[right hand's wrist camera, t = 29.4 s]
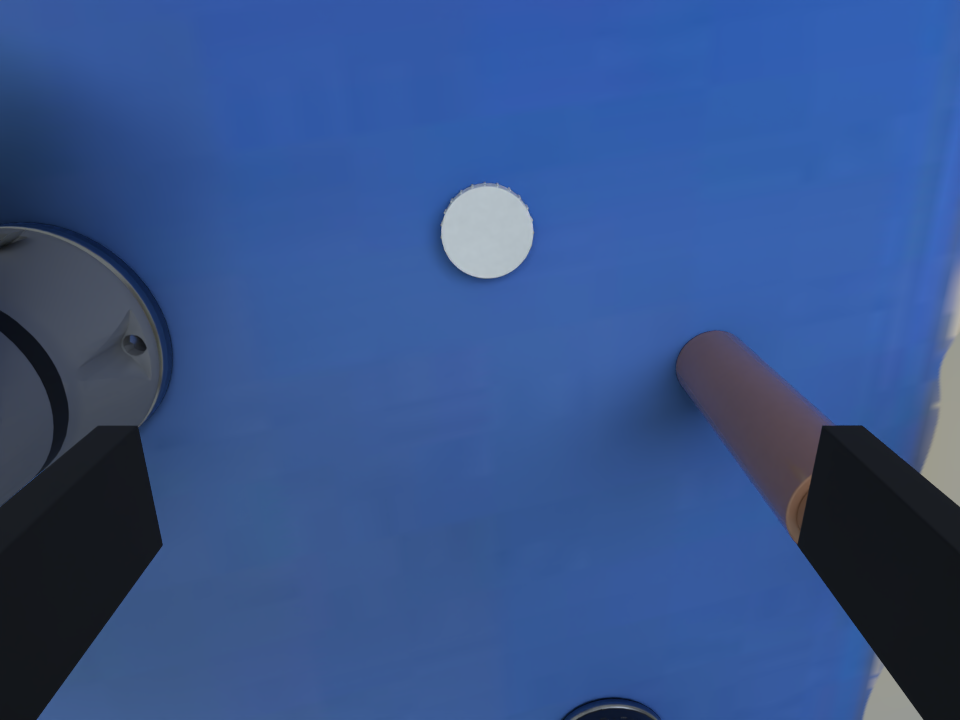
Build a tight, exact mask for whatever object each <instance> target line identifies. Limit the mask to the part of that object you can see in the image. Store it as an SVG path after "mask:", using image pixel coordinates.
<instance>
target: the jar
mask: <svg viewBox="0 0 960 720" xmlns="http://www.w3.org/2000/svg"><path fill="white" fill-rule="evenodd" d="M676 374H677V378H678V380H679V382H680V384H681V386H682V387H683V388H684V390H685V391H686V392H687V394H688V395H689V397H690V398H691V399H692V401H693V402H694V404H695V405H696V406H697V408H698V409H699V410H700V412H701V413H702V415H703V416H704V417H705V419H706V420H707V422H708V423H709V424H710V426H711V427H712V428H713V430H714V431H715V433H716V434H717V435H718V437H719V438H720V440H721V441H722V442H723V444H724V445H725V447H726V448H727V449H728V451H729V452H730V453H731V455H732V456H733V458H734V459H735V460H736V462H737V463H738V465H739V466H740V467H741V469H742V470H743V471H744V473H745V474H746V476H747V477H748V478H749V480H750V481H751V483H752V484H753V485H754V487H755V488H756V489H757V491H758V492H759V494H760V495H761V496H762V498H763V499H764V501H765V502H766V503H767V505H768V506H769V507H770V509H771V510H772V512H773V513H774V514H775V516H776V517H777V519H778V520H779V521H780V523H781V524H782V525H783V527H784V528H785V530H786V531H787V532H788V534H789V535H790V537H791V538H792V539H793V540H794V542H795V543H796V544H798V539H799V534H800V530H801V525H802V520H803V515H804V510H805V506H806V501H807V496H808V491H809V486H810V482H811V477H812V472H813V467H814V463H815V458H816V453H817V448H818V443H819V439H820V434H821V429H822V426H836V425H835V424H834V423H833V422H832V421H831V420H829V419H828V418H827V417H826V416H825V415H824V414H823V413H822V412H821V411H819V410H818V409H817V408H816V407H815V406H814V405H813V404H812V403H810V402H809V401H808V400H807V399H806V398H805V397H804V396H803V395H802V394H800V393H799V392H798V391H797V390H796V389H795V388H794V387H793V386H792V385H790V384H789V383H788V382H787V381H786V380H785V379H784V378H783V377H781V376H780V375H779V374H778V373H777V372H776V371H775V370H774V369H773V368H771V367H770V366H769V365H768V364H767V363H766V362H765V361H764V360H762V359H761V358H760V357H759V356H758V355H757V354H756V353H755V352H754V351H752V350H751V349H750V348H749V347H748V346H747V345H746V344H745V343H743V342H742V341H741V340H740V339H739V338H738V337H736V336H735V335H733V334H731V333H728V332H725V331H709V332H705V333H702V334H700V335H698V336H696V337H694V338H693V339H691V340H690V341H689V342H688V343H687V344H686V345H685V346H684V347H683V349H682V350H681V352H680V354H679V356H678V359H677V363H676Z"/></svg>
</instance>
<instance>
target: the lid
mask: <svg viewBox="0 0 960 720" xmlns="http://www.w3.org/2000/svg"><path fill="white" fill-rule="evenodd" d="M528 209H529V208H528V206H527V205H525V204H524V202H523V201H522V200H521V197H520V195H517V194H515V193H514V192H513V191H511V189H510V188H509V187H508V188H506V187H504V186H501V185H499V184H498V183H496V184H492V183H486V182H484V183H482V184H477V185H473V184H472V185H471V186H470V187H468V188H466V189H465V190H463V191H462V190H460V193H459V194H458V195H457V196H456V197H455V198H454V199H453V198H452V199H451V203H450V204H449V206H448V208H447V209H445V211H444V214H445V215H444V218H443V221H442V222H441V226H442V229H441V239H442V243H443V247H444V251H445V252H446V254H447V256H448V257H449V259H450V261H452V263H453V264H454V265H455V266H456V267H457V268H459V269H460V270H461V271H463V272H465V273H466V274H468V275H471V276H474V277H478V278H497V277H500V276H503V275H506V274H508V273H510V272H511V271H513V270H514V269H516V268H517V267H518V266H519V265H520V264H521V263H522V262H523V261H524V259H525V258H526V257H527V254H528V253H529V250H530V248H531V246H532V240H533V234H534V231H533V224H532V221H533V219H532V217H531V216H530V214H529V212H528Z"/></svg>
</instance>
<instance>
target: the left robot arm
mask: <svg viewBox="0 0 960 720" xmlns="http://www.w3.org/2000/svg"><path fill="white" fill-rule="evenodd" d="M564 720H661V719H660V718H659V716H658V715H657V714H656V713H655V712H653V711H652V710H651V709H649V708H648V707H646V706H644V705H642V704H639V703H637V702H633V701H629V700H623V699H606V700H599V701H595V702H592V703H588V704H586V705H583V706H581V707H579V708H578V709H576V710H574V711H573V712H572V713H570V714H569V715H568V716H567V717H566V718H565V719H564Z"/></svg>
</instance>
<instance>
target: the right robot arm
mask: <svg viewBox="0 0 960 720" xmlns="http://www.w3.org/2000/svg"><path fill="white" fill-rule="evenodd" d="M171 371H172V347H171V340H170V335H169V331H168V328H167V325H166V322H165V319H164V317H163V314H162V312H161V309H160V308H159V306H158V304H157V302H156V300H155V298H154V297H153V295H152V294H151V292H150V291H149V289H148V288H147V286H146V285H145V284H144V283H143V281H142V280H141V279H140V278H139V277H138V275H137V274H136V273H135V272H134V271H133V270H132V269H131V268H130V267H129V266H128V265H127V264H126V263H124V262H123V261H122V260H121V259H120V258H119V257H117V256H116V255H115V254H113V253H112V252H111V251H109V250H108V249H106V248H105V247H103V246H102V245H100V244H98V243H97V242H95V241H93V240H91V239H89V238H87V237H85V236H83V235H81V234H78V233H76V232H73V231H70V230H67V229H65V228H61V227H57V226H53V225H48V224H42V223H31V222H17V223H7V224H1V225H0V506H1V505H2V506H1V507H0V720H37V718H38V717H39V716H40V714H41V713H42V711H43V710H44V709H45V707H46V706H47V704H48V703H49V702H50V700H51V699H52V698H53V696H54V695H55V693H56V692H57V691H58V689H59V688H60V686H61V685H62V684H63V682H64V681H65V680H66V678H67V677H68V675H69V674H70V673H71V671H72V670H73V669H74V667H75V666H76V664H77V663H78V662H79V660H80V659H81V657H82V656H83V655H84V653H85V652H86V651H87V649H88V648H89V646H90V645H91V644H92V642H93V641H94V639H95V638H96V637H97V635H98V634H99V633H100V631H101V630H102V628H103V627H104V626H105V624H106V623H107V622H108V620H109V619H110V617H111V616H112V615H113V613H114V612H115V610H116V609H117V608H118V606H119V605H120V604H121V602H122V601H123V599H124V598H125V597H126V595H127V594H128V592H129V591H130V590H131V588H132V587H133V586H134V584H135V583H136V581H137V580H138V579H139V577H140V576H141V575H142V573H143V572H144V570H145V569H146V568H147V566H148V565H149V563H150V562H151V561H152V559H153V558H154V557H155V555H156V554H157V552H158V551H159V550H160V548H161V547H162V545H163V544H162V539H161V534H160V530H159V525H158V520H157V515H156V510H155V506H154V501H153V496H152V491H151V486H150V482H149V477H148V472H147V467H146V463H145V458H144V453H143V448H142V443H141V439H140V434H139V429H138V428H139V427H140V426H141V425H142V424H143V423H144V422H145V421H146V420H147V419H148V418H149V417H150V416H151V415H152V414H153V413H154V411H155V410H156V409H157V408H158V406H159V404H160V403H161V401H162V399H163V397H164V395H165V393H166V391H167V388H168V385H169V381H170V377H171ZM44 469H45V470H44ZM43 470H44V471H43ZM41 471H43V472H42V473H40V472H41ZM39 473H40V474H39ZM38 474H39V475H38ZM36 475H38V476H37V477H36V478H34V477H35V476H36ZM33 478H34V479H33ZM32 479H33V480H32ZM30 480H32V481H31V482H30V483H28V482H29V481H30ZM27 483H28V484H27ZM26 484H27V485H26ZM25 485H26V486H25ZM24 486H25V487H24ZM22 487H24V488H22ZM21 488H22V489H21ZM20 489H21V490H20ZM19 490H20V491H19ZM18 491H19V492H18ZM17 492H18V493H17ZM15 493H16V494H15ZM14 494H15V495H14ZM13 495H14V496H13ZM12 496H13V497H12ZM11 497H12V498H11ZM8 499H9V500H8ZM7 500H8V501H7ZM6 501H7V502H6ZM5 502H6V503H5ZM797 545H798V547H799V548H800V550H801V551H802V552H803V554H804V555H805V557H806V558H807V559H808V561H809V562H810V563H811V565H812V566H813V568H814V569H815V570H816V572H817V573H818V575H819V576H820V577H821V579H822V580H823V581H824V583H825V584H826V586H827V587H828V588H829V590H830V591H831V592H832V594H833V595H834V597H835V598H836V599H837V601H838V602H839V604H840V605H841V606H842V608H843V609H844V610H845V612H846V613H847V615H848V616H849V617H850V619H851V620H852V622H853V623H854V624H855V626H856V627H857V628H858V630H859V631H860V633H861V634H862V635H863V637H864V638H865V639H866V641H867V642H868V644H869V645H870V646H871V648H872V649H873V651H874V652H875V653H876V655H877V656H878V657H879V659H880V660H881V662H882V663H883V664H884V666H885V667H886V669H887V670H888V671H889V673H890V674H891V675H892V677H893V678H894V680H895V681H896V682H897V684H898V685H899V686H900V688H901V689H902V691H903V692H904V693H905V695H906V696H907V698H908V699H909V700H910V702H911V703H912V704H913V706H914V707H915V709H916V710H917V711H918V713H919V714H920V716H921V717H922V718H923V720H960V507H959V506H958V505H957V504H956V503H954V502H953V501H952V500H951V499H950V498H948V497H947V496H946V495H945V494H944V493H942V492H941V491H940V490H939V489H938V488H936V487H935V486H934V485H933V484H931V483H930V482H929V481H928V480H927V479H926V478H924V477H923V476H922V475H921V474H920V473H918V472H917V471H916V470H915V469H914V468H912V467H911V466H910V465H909V464H908V463H906V462H905V461H904V460H903V459H902V458H900V457H899V456H898V455H897V454H896V453H894V452H893V451H892V450H891V449H890V448H888V447H887V446H886V445H885V444H884V443H882V442H881V441H880V440H879V439H878V438H876V437H875V436H874V435H873V434H872V433H870V432H869V431H868V430H867V429H866V428H864V427H863V426H822V429H821V434H820V439H819V443H818V448H817V453H816V458H815V463H814V467H813V472H812V477H811V482H810V486H809V491H808V496H807V501H806V506H805V510H804V515H803V520H802V525H801V530H800V534H799V539H798V544H797Z"/></svg>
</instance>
